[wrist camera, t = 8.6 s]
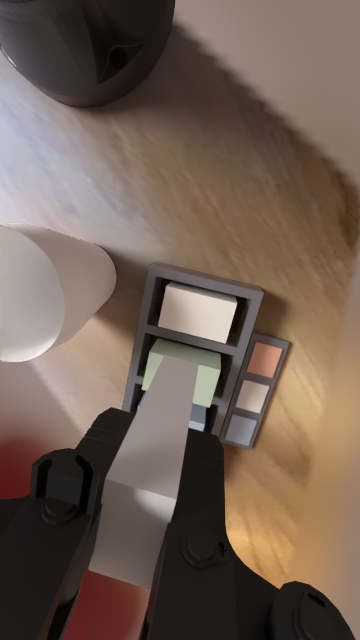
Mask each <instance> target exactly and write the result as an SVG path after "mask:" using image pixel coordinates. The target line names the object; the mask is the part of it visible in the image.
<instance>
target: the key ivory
mask: <svg viewBox="0 0 360 640" xmlns="http://www.w3.org/2000/svg"><path fill="white" fill-rule="evenodd" d="M236 306H237V301H236V298H235V296H234V295H230V294H226V293H222V292H218V291H214V290H210V289H206V288H201V287H197V286H193V285H189V284H185V283H181V282H177V281H172V282H171V283H169V284H168V285H167V286H166V290H165V295H164V300H163V304H162V309H161V314H160V319H159V324H158V326H159V327H163V328H167V329H170V330H174V331H178V332H182V333H186V334H190V335H194V336H198V337H202V338H206V339H210V340H214V341H217V342H221V343H225V344H226V341H227V337H228V334H229V330H230V327H231V323H232V320H233V316H234V313H235V309H236Z"/></svg>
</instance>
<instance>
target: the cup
mask: <svg viewBox="0 0 360 640" xmlns="http://www.w3.org/2000/svg"><path fill="white" fill-rule="evenodd" d="M115 285H116V270H115V267H114V264H113V262H112V260H111V258H110V257H109V255H108V254H107V253H106V252H105V251H104V250H103V249H102V248H100V247H99V246H97V245H95V244H93V243H90V242H87V241H84V240H81V239H78V238H75V237H72V236H68V235H65V234H62V233H59V232H56V231H53V230H50V229H47V228H44V227H40V226H37V225H32V224H27V223H5V224H0V361H6V362H21V361H27V360H30V359H33V358H35V357H37V356H39V355H41V354H43V353H44V352H46V351H48V350H50V349H52V348H54V347H56V346H58V345H61V344H63V343H64V342H66V341H67V340H69V339H70V338H71V337H73V336H74V335H75V334H76V333H77V332H78V331H79V330H80V329H81V328H82V327H83V326H84V325H85V323H86V322H87V321H88V320H89V319H90V318H91V317H92V316H93V315H94V314H95V313H96V312H97V311H98V309H99V308H100V307H101V306H102V305H103V304H104V303H105V302H106V301H107V300H108V299H109V298H110V296H111V295H112V293H113V291H114V289H115Z"/></svg>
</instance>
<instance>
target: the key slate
mask: <svg viewBox="0 0 360 640" xmlns="http://www.w3.org/2000/svg"><path fill="white" fill-rule="evenodd" d="M146 392H147V391H145V393H144V395H143V397H142V399H141V401H140V403H139V406H138V409H139V407H140V405H141V403H142V401H143V399H144V396H145V394H146ZM137 411H138V410H137ZM205 415H206V407H205V406H201V405H198V404H194V403H192V409H191V415H190V421H189V427H188V428H192V429H196V430H199V431H203V429H204V425H205Z"/></svg>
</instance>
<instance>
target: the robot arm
mask: <svg viewBox="0 0 360 640" xmlns="http://www.w3.org/2000/svg"><path fill="white" fill-rule="evenodd" d="M174 7H175V0H0V50H1V52H2V53H3V54H4V56H5V57H6V58H7V59H8V61H9V62H10V63H11V64H12V65H13V67H14V68H15V69H16V70H17V71H18V72H19V73H20V74H22V75H23V76H24V77H25V78H26V79H27V80H28V81H30V82H31V83H32V84H33V85H34V86H35V87H37V88H38V89H39V90H40V91H42V92H43V93H45V94H46V95H48V96H49V97H51V98H53V99H55V100H57V101H59V102H62V103H65V104H68V105H72V106H79V107H93V106H99V105H104V104H107V103H110V102H112V101H115V100H117V99H119V98H121V97H122V96H124V95H126V94H127V93H129V92H130V91H131V90H133V89H134V88H135V87H136V86H137V85H138V84H139V83H140V82H141V81H142V80H143V79H144V78H145V77H146V76H147V74H148V73H149V72H150V70H151V69H152V68H153V66H154V64H155V63H156V61H157V59H158V58H159V56H160V54H161V52H162V50H163V48H164V45H165V43H166V40H167V37H168V34H169V31H170V28H171V24H172V19H173V14H174ZM198 366H199V364H198V363H194V362H190V361H186V360H182V359H178V358H175V357H171V356H167V355H164V357H163V359H162V361H161V363H160V365H159V367H158V369H157V371H156V373H155V376H154V378H153V380H152V382H151V384H150V386H149V388H148V390H147V392H146V394H145V396H144V399H143V401H142V403H141V405H140V407H139V409H138V411H137V413H136V414H134V413H130V412H126V411H123V410H119V409H116V408H112V407H111V408H109V409H108V410H106V411H104V412H103V413H101V414H99V415H98V417H97V418H96V420H95V421H94V422H93V424H92V425H91V428H89V430H88V431H87V433H86V434H85V436H84V438H82V440H81V441H80V443H79V444H78V446H77V447H76V449H70V448H67V449H60V450H55V451H52V452H50V453H48V454H45V455H43V456H42V457H41V458H39V459H38V460H37V461H36V462H35V463H34V464H32V473H31V485H30V495H29V496H26V497H23V498H15V499H0V640H63V637H64V634H65V632H66V629H67V627H68V624H69V622H70V619H71V617H72V614H73V611H74V608H75V606H76V604H77V600H78V596H79V591H80V586H81V582H82V580H83V577H84V575H85V572H86V570H87V567H88V565H89V562H90V565H89V570H90V571H93V572H96V573H99V574H103V575H106V576H109V577H112V578H115V579H118V580H121V581H125V582H128V583H131V584H134V585H137V586H140V587H144V588H147V589H150V590H151V592H150V597H149V602H148V607H147V611H146V614H145V618H144V621H143V625H142V628H141V632H140V635H139V639H138V640H355V638H354V636H353V634H352V632H351V630H350V628H349V626H348V624H347V623H346V622H345V620H344V618H343V617H342V615H341V613H340V612H339V610H338V609H337V608H336V607H335V606H334V605H333V603H332V602H330V600H329V599H328V598H327V597H326V596H325V595H324V594H323V593H321V592H320V591H318V590H316V589H315V588H313V587H312V586H311V585H309V584H305V583H301V582H297V581H293V582H289V583H285V584H283V586H282V587H281V588H280V589H278V588H276V587H275V586H274V585H272V584H271V583H269V582H268V581H266V580H265V579H263V578H262V577H260V576H259V575H258V574H256V573H255V572H253V571H252V570H251V569H250V568H249V567H247V566H246V565H245V564H244V563H243V562H242V561H241V559H240V558H239V557H238V556H237V555H236V553H235V551H234V550H233V548H232V546H231V544H230V542H229V539H228V537H227V533H226V526H225V489H224V465H223V464H224V448H223V446H222V444H221V442H220V441H219V439H218V437H217V435H214V434H210V433H206V432H203V431H199V430H196V429H192V428H188V427H189V421H190V415H191V409H192V403H193V396H194V390H195V384H196V378H197V372H198Z"/></svg>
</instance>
